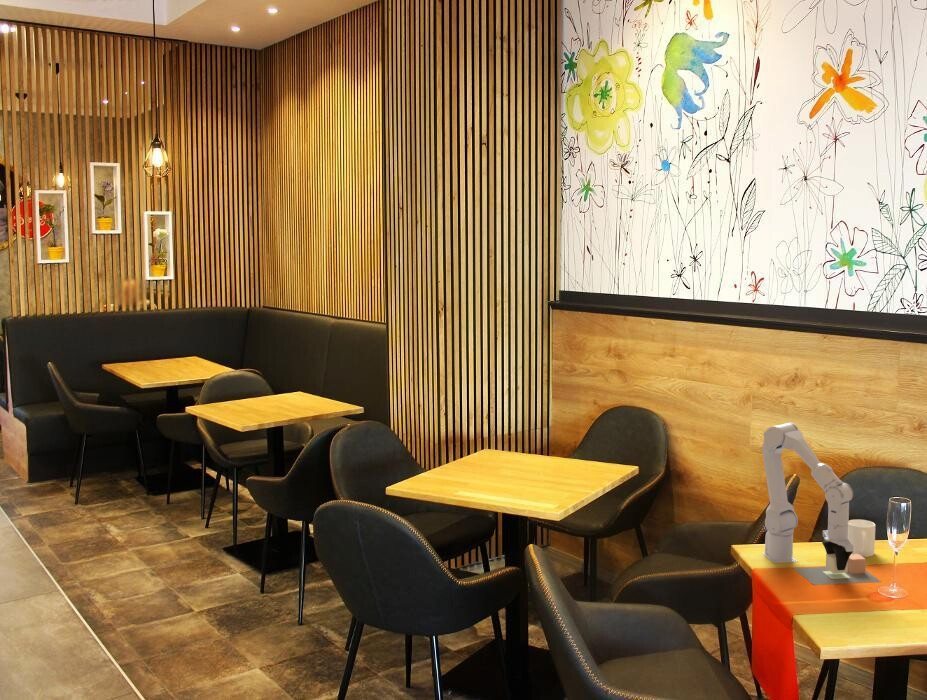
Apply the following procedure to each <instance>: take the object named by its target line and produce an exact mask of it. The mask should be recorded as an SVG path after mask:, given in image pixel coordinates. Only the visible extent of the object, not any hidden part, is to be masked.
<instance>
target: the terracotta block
mask: <svg viewBox="0 0 927 700" xmlns="http://www.w3.org/2000/svg"><path fill="white" fill-rule="evenodd" d="M866 561H867V559H866V557H862V556H861V555H859V554H851V555H850V557H849V559H848V569H847V571H848V572H849V573H851V574H857V573H865V570H866V568H867V567H866V566H867V565H866Z"/></svg>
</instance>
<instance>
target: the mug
mask: <svg viewBox="0 0 927 700" xmlns="http://www.w3.org/2000/svg"><path fill="white" fill-rule="evenodd" d="M848 538H849V540H850V542H851V544H852V545H854V546H853V552H852V554H859V555H861V556H862V557H864V558H867V557H872V556H874V554H875V550H876V549H875V547H876V546H875V545H876V524H875V523H874V522H873V521H871V520H866V519H850V520H849V521H848Z"/></svg>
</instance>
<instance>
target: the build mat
mask: <svg viewBox="0 0 927 700" xmlns="http://www.w3.org/2000/svg"><path fill="white" fill-rule="evenodd" d="M792 569H793V570H794V571H796V572H797V573H798V574H799V575H801V576H802V577H803V578H804V579H806V580H807V581H808V582H809V583H810V584H812V585H813V586H815V585H816V586H818V585H819V586H822V585H823V586H824V585H842V584H843V585H845V584H864V583H881V582H882V581H881V580H880V579H879V578H877V577H876V576H874V574H871V573H870V572H869V571H868V570H866V569H865V573H857V574H851V573H849V572H848V571H847V573H832V572H830V571H829V570H828V569H826V566H815V567H814V566H813V567H811V566H810V567H794V568H792Z"/></svg>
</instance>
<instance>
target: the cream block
mask: <svg viewBox="0 0 927 700" xmlns="http://www.w3.org/2000/svg"><path fill="white" fill-rule="evenodd" d="M825 555H826V556H825V567H826V569H828V570H829V571H830V572H832V573H847V569H848V561H847V564H846V567H845V570H838V569H837V564H836V556H835V554H827V553H826V554H825Z"/></svg>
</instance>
